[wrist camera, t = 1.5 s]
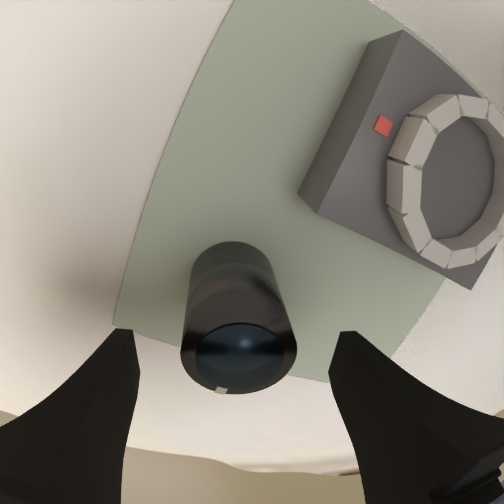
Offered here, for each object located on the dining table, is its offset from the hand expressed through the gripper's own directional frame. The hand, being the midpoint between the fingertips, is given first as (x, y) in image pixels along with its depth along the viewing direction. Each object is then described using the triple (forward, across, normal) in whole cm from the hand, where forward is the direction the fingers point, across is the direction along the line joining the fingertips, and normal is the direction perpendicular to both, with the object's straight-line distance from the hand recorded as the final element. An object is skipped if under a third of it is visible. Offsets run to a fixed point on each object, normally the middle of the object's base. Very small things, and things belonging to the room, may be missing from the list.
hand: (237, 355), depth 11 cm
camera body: (+5, -9, -6) cm, 12 cm away
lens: (+5, 0, 0) cm, 5 cm away
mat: (+6, -5, -4) cm, 8 cm away
